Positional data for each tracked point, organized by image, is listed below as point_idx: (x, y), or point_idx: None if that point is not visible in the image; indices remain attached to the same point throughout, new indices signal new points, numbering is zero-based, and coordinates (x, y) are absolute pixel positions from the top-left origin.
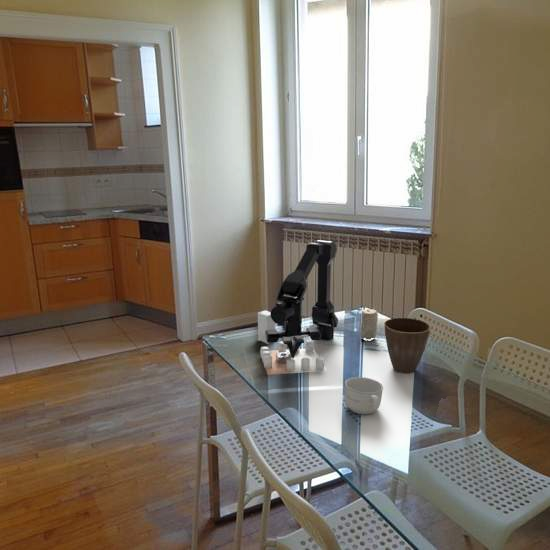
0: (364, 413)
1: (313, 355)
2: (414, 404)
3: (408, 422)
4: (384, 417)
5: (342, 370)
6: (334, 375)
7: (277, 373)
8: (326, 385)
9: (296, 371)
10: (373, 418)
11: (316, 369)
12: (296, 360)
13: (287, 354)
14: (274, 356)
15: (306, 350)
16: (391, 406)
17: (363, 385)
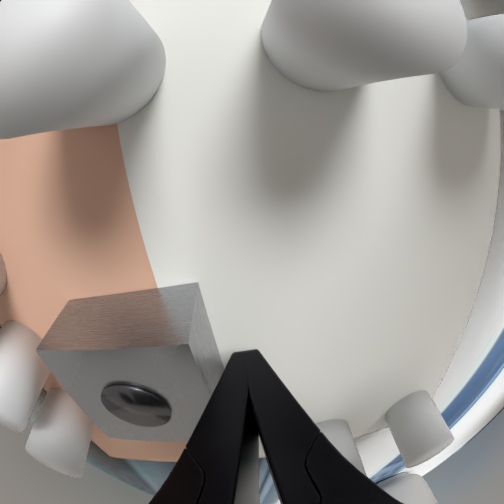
0: None
1: (474, 205)
2: (474, 436)
3: (425, 473)
4: None
5: (487, 353)
6: (435, 402)
7: (153, 459)
8: (363, 458)
9: (262, 451)
10: None
11: (385, 419)
12: (291, 332)
13: (184, 408)
14: (37, 233)
15: (449, 79)
16: (439, 457)
17: (417, 498)
